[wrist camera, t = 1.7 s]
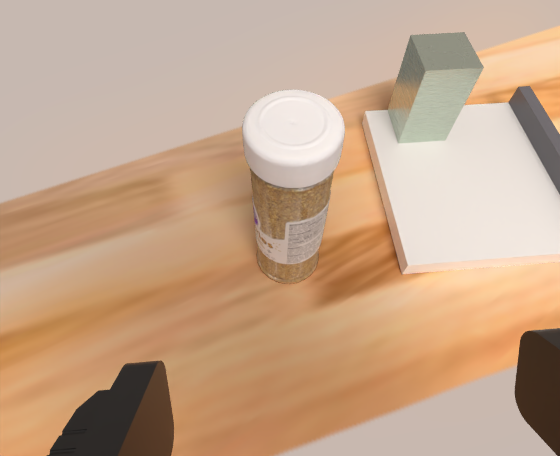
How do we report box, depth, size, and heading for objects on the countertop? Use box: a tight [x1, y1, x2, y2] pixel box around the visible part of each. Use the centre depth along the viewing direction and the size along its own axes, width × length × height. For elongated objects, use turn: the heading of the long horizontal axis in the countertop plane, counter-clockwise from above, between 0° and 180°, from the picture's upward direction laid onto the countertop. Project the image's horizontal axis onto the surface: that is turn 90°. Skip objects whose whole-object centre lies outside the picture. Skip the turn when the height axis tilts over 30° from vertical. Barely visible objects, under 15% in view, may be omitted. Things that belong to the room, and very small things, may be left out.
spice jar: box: [242, 90, 345, 284], centre depth 22 cm, size 5×5×14 cm
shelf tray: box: [362, 86, 560, 274], centre depth 30 cm, size 14×15×3 cm
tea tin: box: [388, 32, 484, 143], centre depth 30 cm, size 4×4×7 cm
